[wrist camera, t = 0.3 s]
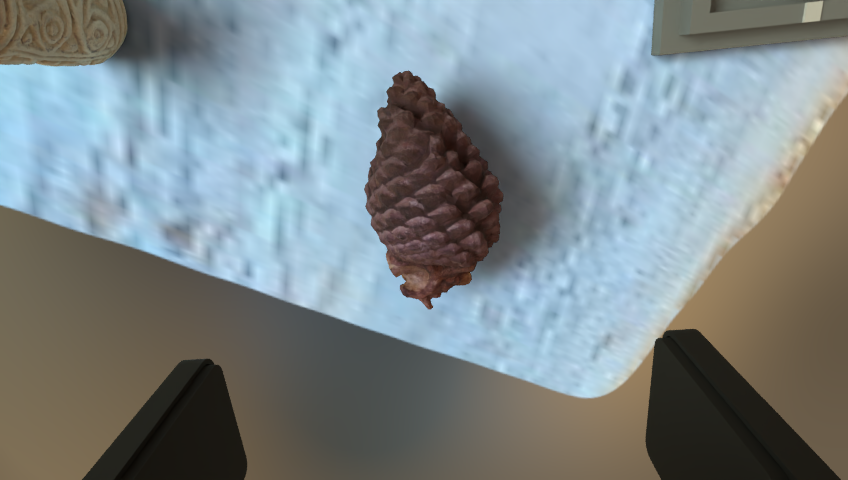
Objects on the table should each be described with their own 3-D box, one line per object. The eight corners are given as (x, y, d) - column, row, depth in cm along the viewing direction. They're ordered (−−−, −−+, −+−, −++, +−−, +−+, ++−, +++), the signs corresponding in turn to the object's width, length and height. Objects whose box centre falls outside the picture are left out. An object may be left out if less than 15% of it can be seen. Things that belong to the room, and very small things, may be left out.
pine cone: (350, 79, 37) (323, 87, 28) (480, 56, 37) (495, 57, 27) (393, 284, 43) (382, 348, 34) (505, 269, 43) (524, 329, 33)
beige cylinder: (78, -65, 34) (-96, -123, 23) (158, 28, 36) (35, 18, 25) (22, -5, 36) (-166, -31, 24) (102, 82, 38) (-38, 94, 27)
